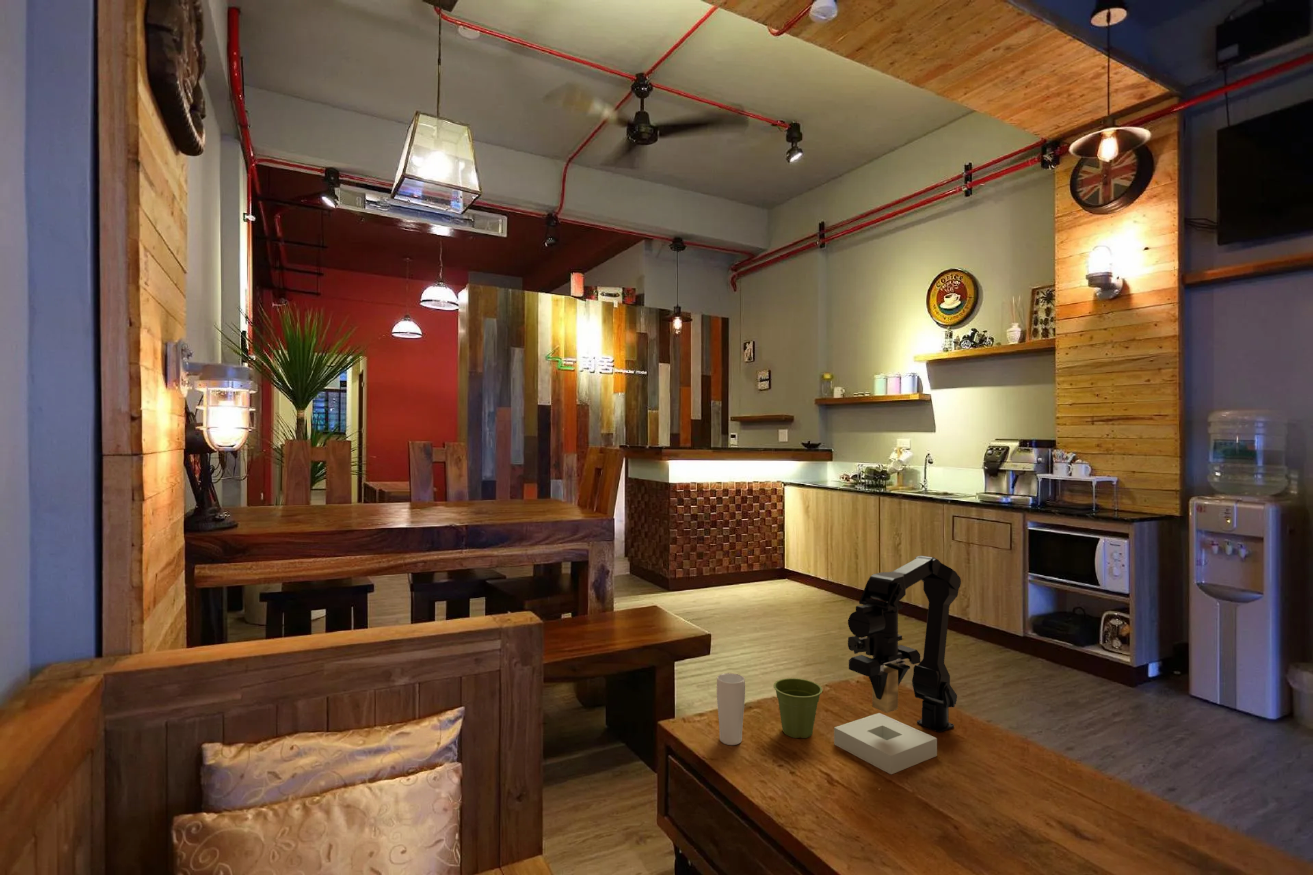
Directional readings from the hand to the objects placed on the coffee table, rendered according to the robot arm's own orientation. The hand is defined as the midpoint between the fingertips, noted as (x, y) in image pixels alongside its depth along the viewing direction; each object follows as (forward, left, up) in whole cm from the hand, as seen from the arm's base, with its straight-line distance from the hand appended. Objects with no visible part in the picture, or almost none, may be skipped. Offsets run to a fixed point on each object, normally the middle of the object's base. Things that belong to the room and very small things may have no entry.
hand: (885, 696), depth 146 cm
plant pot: (+11, -17, -12) cm, 24 cm away
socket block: (0, 0, -12) cm, 12 cm away
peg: (0, 0, -2) cm, 2 cm away
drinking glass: (+28, -22, -12) cm, 38 cm away
